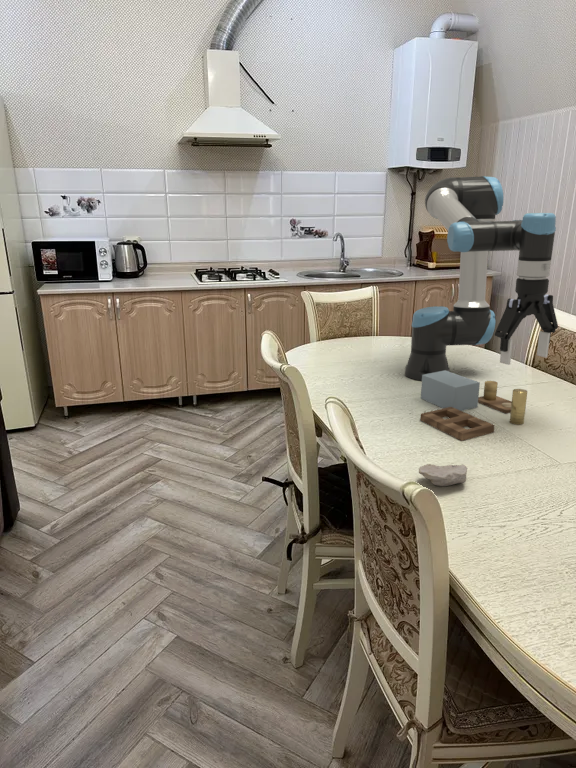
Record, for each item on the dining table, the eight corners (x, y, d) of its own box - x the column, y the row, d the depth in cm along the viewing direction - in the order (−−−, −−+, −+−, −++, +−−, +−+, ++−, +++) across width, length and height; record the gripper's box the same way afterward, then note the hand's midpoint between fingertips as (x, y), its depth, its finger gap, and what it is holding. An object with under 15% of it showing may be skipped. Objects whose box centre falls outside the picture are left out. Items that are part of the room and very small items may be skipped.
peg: (506, 421, 151) (509, 390, 148) (516, 418, 152) (519, 387, 149) (517, 425, 147) (520, 393, 145) (526, 423, 149) (530, 391, 146)
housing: (420, 398, 170) (422, 374, 167) (443, 393, 174) (445, 370, 171) (453, 412, 158) (455, 387, 155) (477, 407, 161) (479, 382, 159)
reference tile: (474, 401, 166) (476, 382, 164) (491, 397, 169) (493, 378, 167) (505, 413, 156) (508, 393, 154) (523, 409, 159) (525, 389, 157)
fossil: (410, 465, 120) (449, 443, 122) (421, 489, 122) (459, 467, 124) (430, 480, 112) (471, 457, 113) (441, 506, 114) (481, 482, 115)
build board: (420, 420, 153) (420, 413, 152) (450, 413, 157) (451, 406, 157) (461, 440, 139) (462, 433, 138) (493, 432, 144) (494, 425, 143)
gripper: (508, 283, 129) (500, 370, 136) (579, 275, 140) (568, 356, 146) (484, 279, 136) (477, 363, 142) (554, 272, 146) (544, 350, 153)
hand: (523, 359), depth 144 cm, fingers open, 13 cm apart
